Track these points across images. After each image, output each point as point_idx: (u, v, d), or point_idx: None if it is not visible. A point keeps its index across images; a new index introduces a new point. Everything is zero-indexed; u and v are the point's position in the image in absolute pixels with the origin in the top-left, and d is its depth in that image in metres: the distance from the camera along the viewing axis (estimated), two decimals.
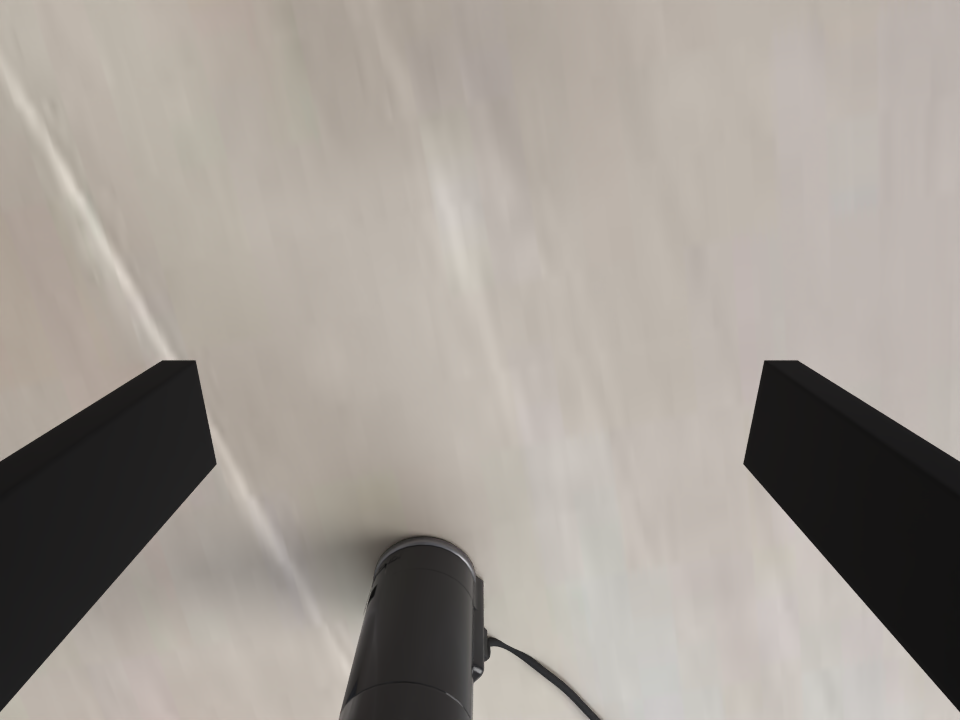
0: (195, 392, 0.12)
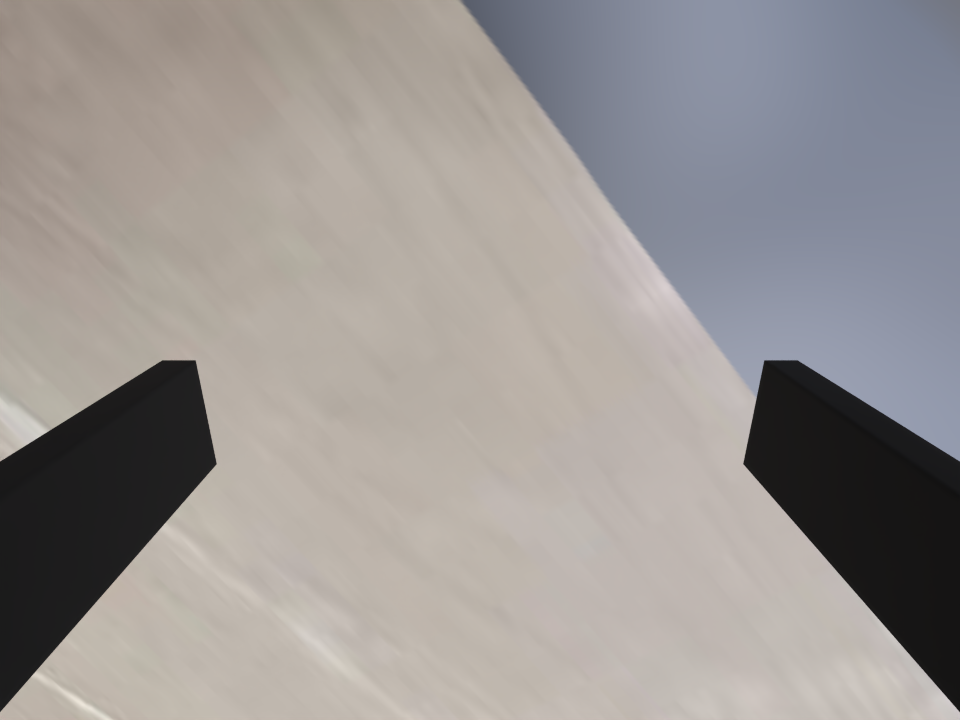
0: (195, 393, 0.12)
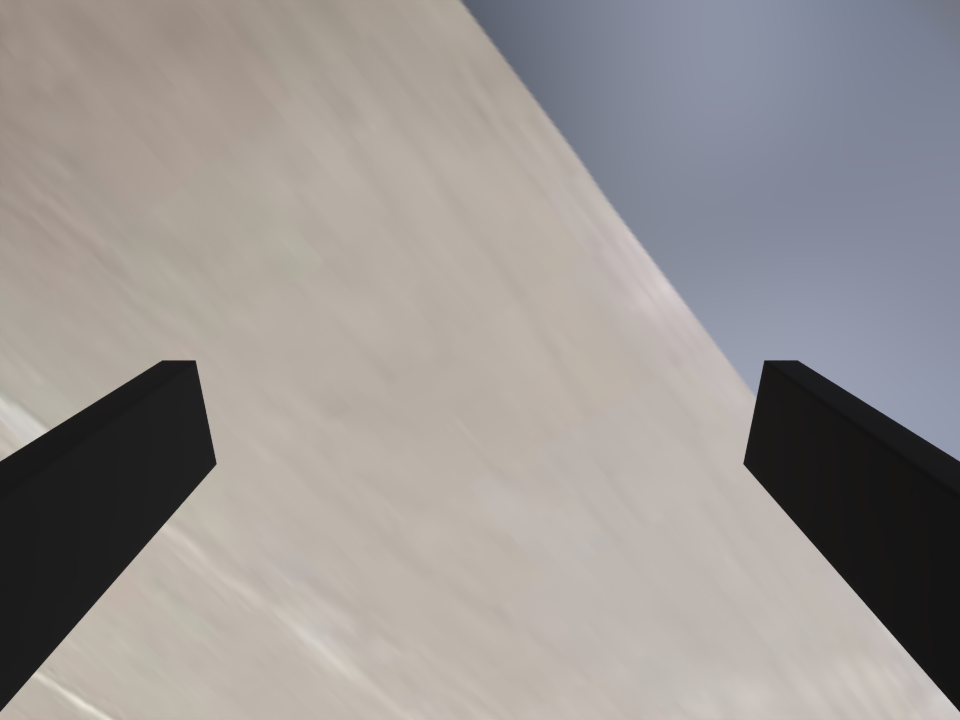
0: (195, 393, 0.12)
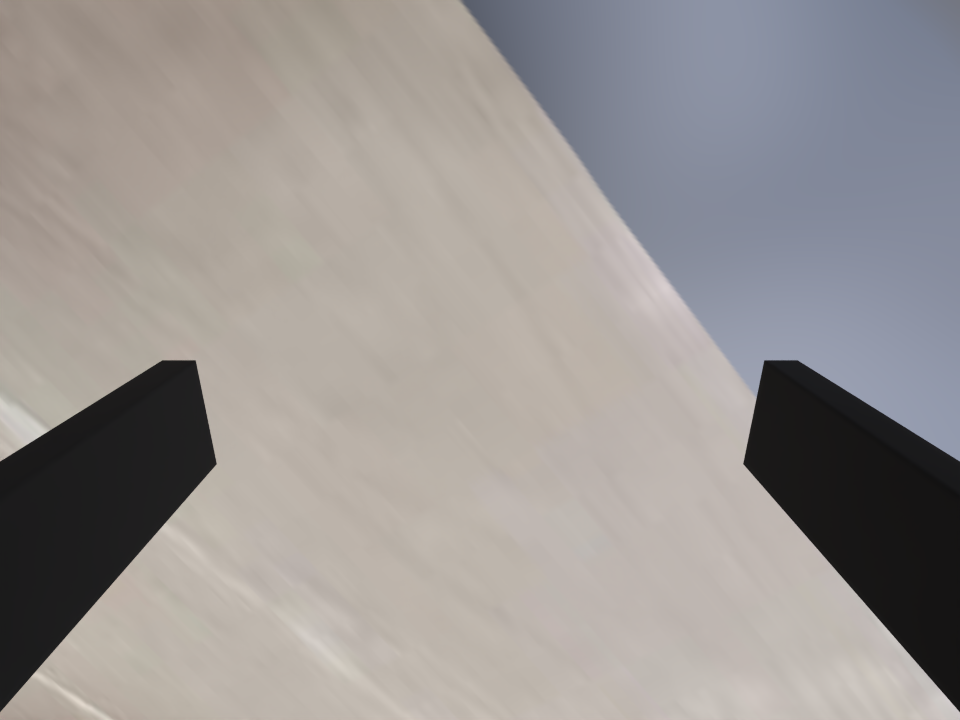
0: (195, 393, 0.12)
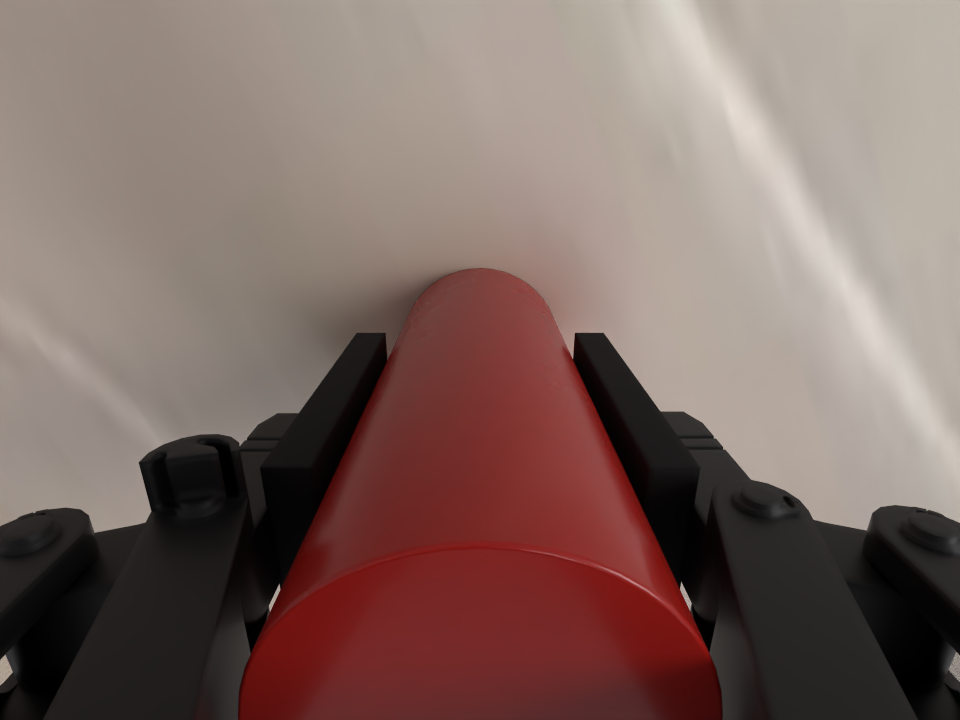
0: (385, 361, 0.14)
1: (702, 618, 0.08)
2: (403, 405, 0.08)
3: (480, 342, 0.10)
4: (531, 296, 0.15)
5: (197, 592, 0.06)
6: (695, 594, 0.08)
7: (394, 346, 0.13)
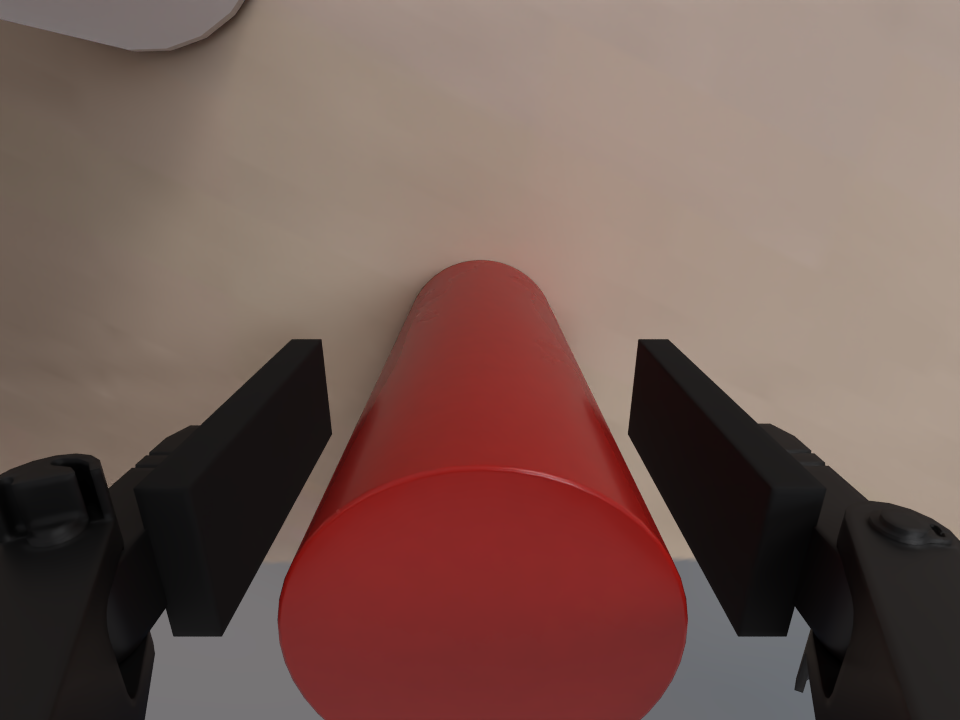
0: (321, 368, 0.13)
1: (825, 644, 0.07)
2: (413, 373, 0.09)
3: (481, 321, 0.11)
4: (528, 285, 0.16)
5: (50, 622, 0.05)
6: (817, 618, 0.07)
7: (401, 330, 0.14)
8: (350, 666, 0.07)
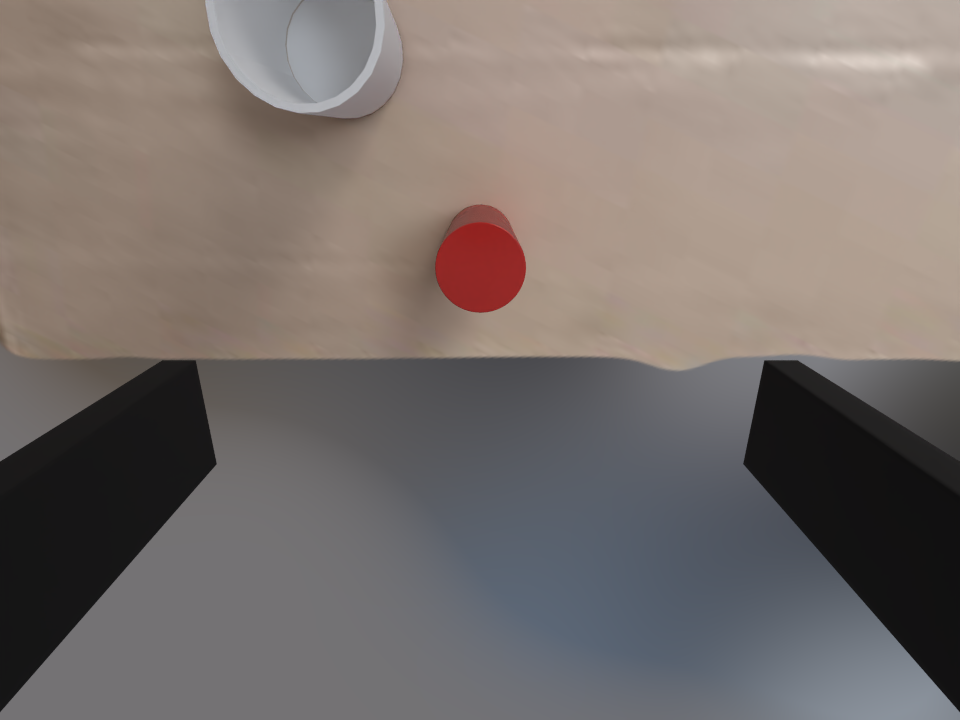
0: (195, 392, 0.12)
1: None
2: (461, 221, 0.31)
3: (480, 213, 0.33)
4: (500, 213, 0.38)
5: None
6: None
7: None
8: (450, 275, 0.29)
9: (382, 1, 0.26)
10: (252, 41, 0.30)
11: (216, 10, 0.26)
